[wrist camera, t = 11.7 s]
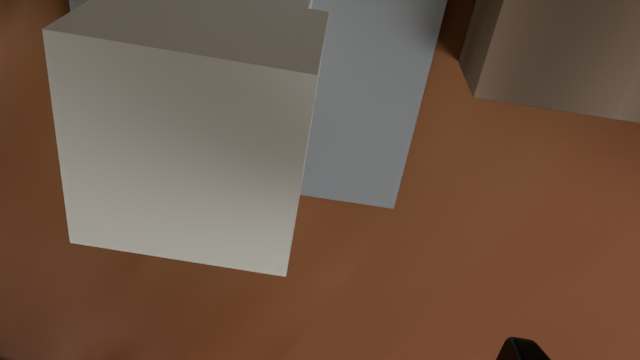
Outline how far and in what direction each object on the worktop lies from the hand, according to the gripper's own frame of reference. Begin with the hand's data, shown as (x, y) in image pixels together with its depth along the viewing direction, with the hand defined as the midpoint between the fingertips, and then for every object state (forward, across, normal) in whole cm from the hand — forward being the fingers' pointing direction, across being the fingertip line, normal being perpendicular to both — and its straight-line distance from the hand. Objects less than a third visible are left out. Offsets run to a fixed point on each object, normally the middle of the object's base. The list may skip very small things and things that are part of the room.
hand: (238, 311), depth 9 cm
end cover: (+11, +2, -1) cm, 11 cm away
